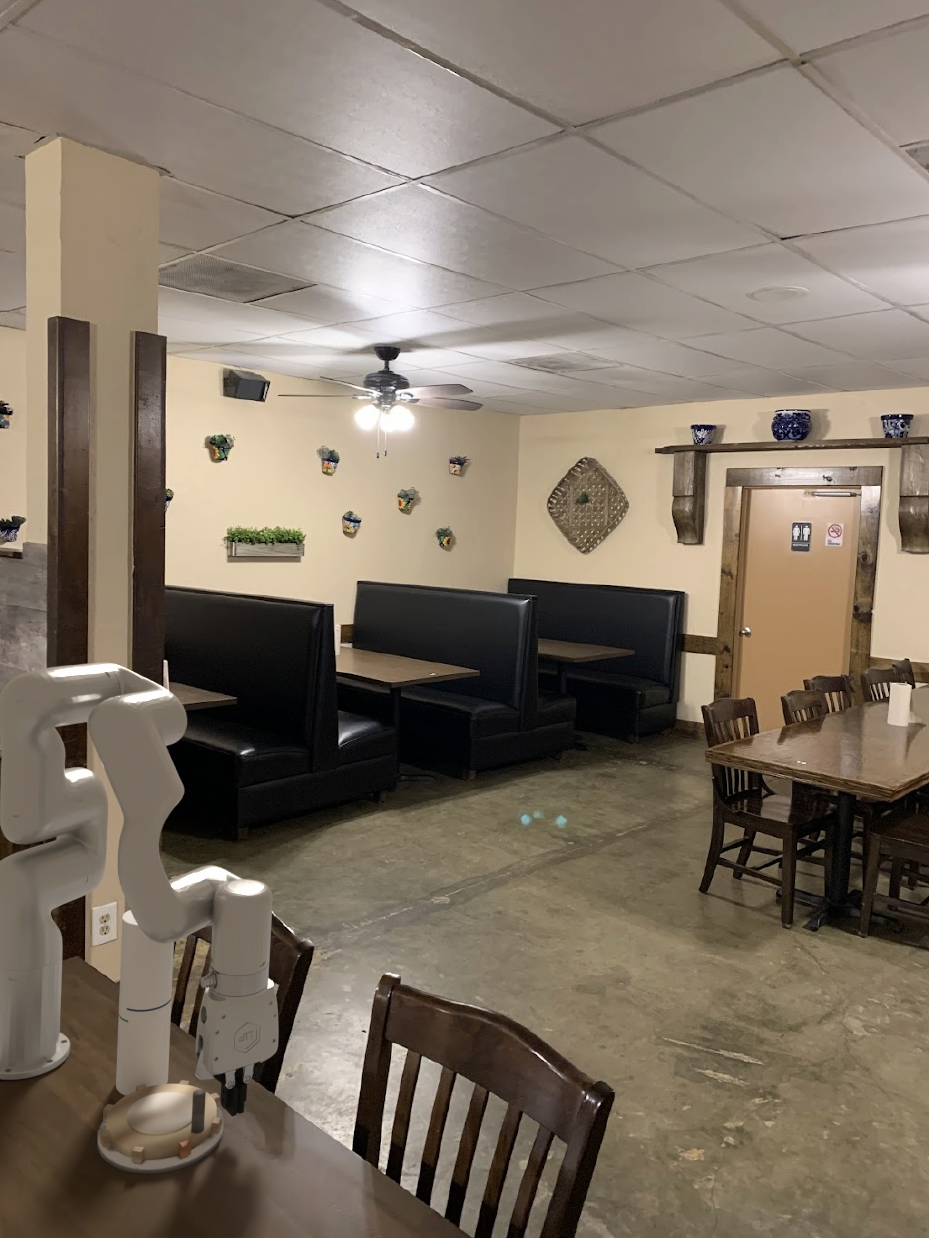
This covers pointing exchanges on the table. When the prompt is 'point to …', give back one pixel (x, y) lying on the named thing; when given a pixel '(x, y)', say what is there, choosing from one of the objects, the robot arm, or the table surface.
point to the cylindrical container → (143, 1009)
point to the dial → (161, 1121)
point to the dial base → (158, 1164)
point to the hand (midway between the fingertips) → (232, 1109)
